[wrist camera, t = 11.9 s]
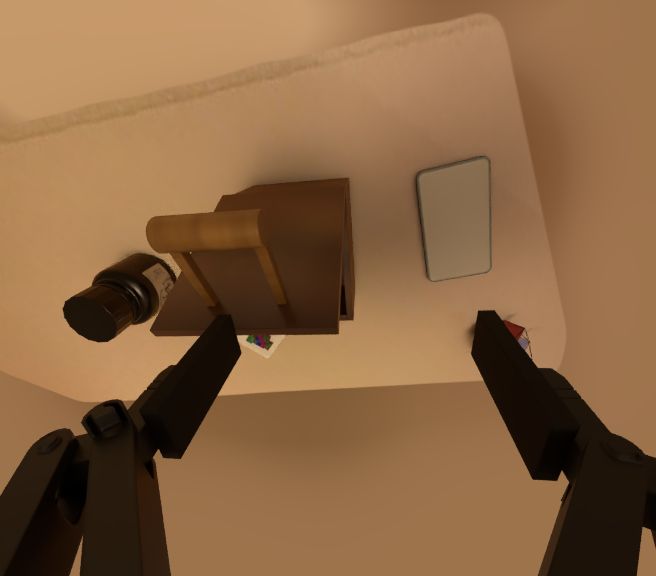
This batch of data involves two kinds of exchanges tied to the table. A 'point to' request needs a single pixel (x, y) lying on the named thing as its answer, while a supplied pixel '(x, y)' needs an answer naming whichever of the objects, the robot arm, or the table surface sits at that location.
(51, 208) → the table surface
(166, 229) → the compartment door
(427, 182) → the smartphone
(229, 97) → the table surface
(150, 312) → the ink bottle
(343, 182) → the compartment
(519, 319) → the table surface
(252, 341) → the multicolor rounded block
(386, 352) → the table surface
